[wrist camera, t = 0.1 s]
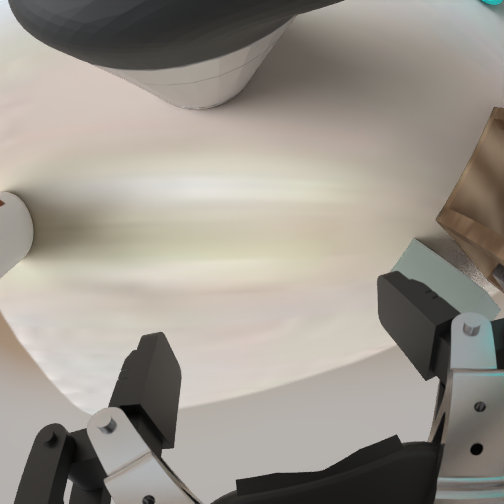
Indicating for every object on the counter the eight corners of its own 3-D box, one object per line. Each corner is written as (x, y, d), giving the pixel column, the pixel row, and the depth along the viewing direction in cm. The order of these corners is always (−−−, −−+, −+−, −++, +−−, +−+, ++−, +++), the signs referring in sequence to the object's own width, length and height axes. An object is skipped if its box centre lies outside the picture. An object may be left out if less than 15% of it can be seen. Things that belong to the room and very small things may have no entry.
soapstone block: (388, 274, 31) (450, 338, 20) (413, 238, 30) (485, 290, 19) (412, 290, 33) (469, 350, 22) (435, 257, 31) (500, 309, 20)
